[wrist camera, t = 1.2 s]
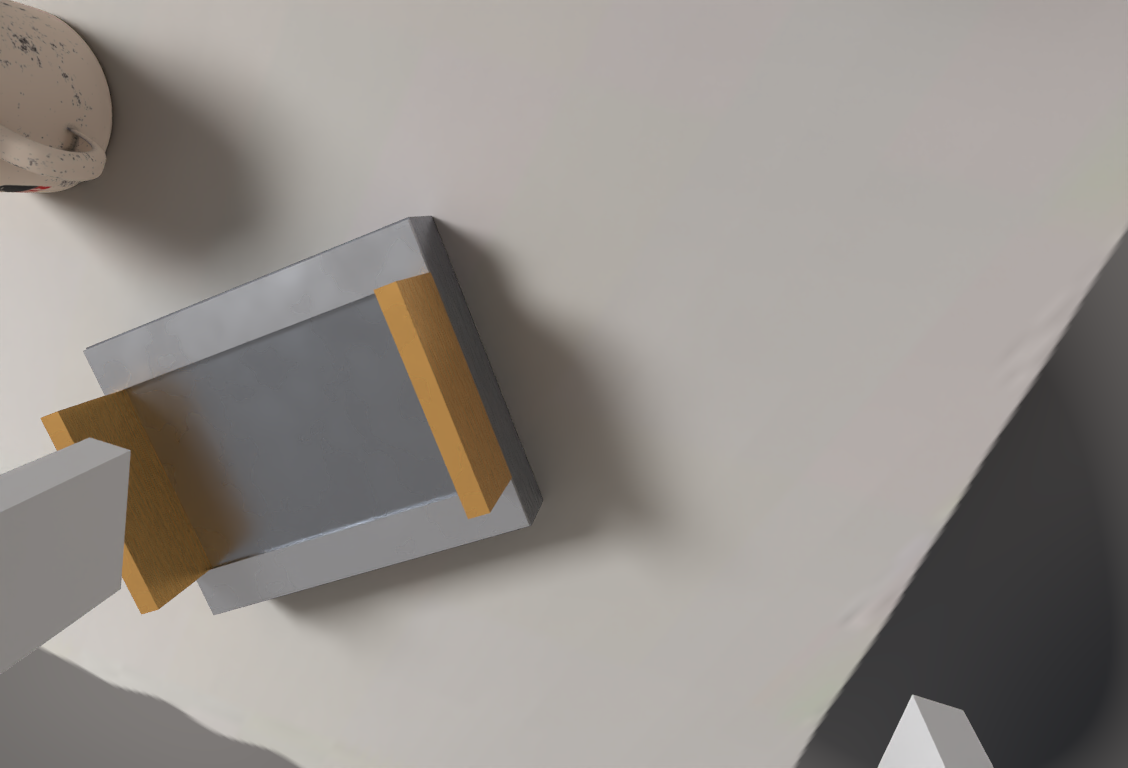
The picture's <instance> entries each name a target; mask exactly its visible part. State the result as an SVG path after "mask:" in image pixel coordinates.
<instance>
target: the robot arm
mask: <svg viewBox="0 0 1128 768" xmlns="http://www.w3.org/2000/svg"><path fill="white" fill-rule="evenodd" d="M130 454H131V450H128V449H125V448H122V447H119V446H116V445H112V444H109V443H106V442H103V441H100V440H96V439H93V438H90V437H89V438H87V439H85V440H82V441H80V442H77V443H75V444H73V445H70V446H68V447H65V448H63V449H61V450H58V451H56V452H54V453H51V454H49V455H46V456H44V457H42V458H39V459H37V460H35V461H32V462H30V463H27V464H25V465H23V466H20V467H18V468H16V469H13V470H11V471H8V472H6V473H4V474H1V475H0V674H2V673H3V672H5V671H6V670H7V669H9V668H10V667H12V666H13V665H15V664H16V663H17V662H19V661H20V660H22V659H23V658H24V657H26V656H27V655H28V654H30V653H31V652H33V651H34V650H35V649H37V648H38V647H40V646H41V645H43V644H44V643H45V642H47V641H48V640H50V639H51V638H52V637H54V636H55V635H57V634H58V633H59V632H61V631H62V630H64V629H65V628H66V627H68V626H69V625H71V624H72V623H74V622H75V621H76V620H78V619H79V618H81V617H82V616H83V615H85V614H86V613H88V612H89V611H90V610H92V609H93V608H95V607H96V606H97V605H99V604H100V603H102V602H103V601H104V600H106V599H107V598H109V597H110V596H111V595H113V594H114V593H116V592H117V591H118V590H120V589H121V579H122V565H123V551H124V537H125V523H126V509H127V495H128V482H129V468H130ZM878 768H993V766H992V764H991V762H990V760H989V758H988V756H987V754H986V753H985V751H984V749H983V747H982V745H981V743H980V741H979V739H978V738H977V736H976V734H975V733H974V730H973V728H972V726H971V725H970V723H969V721H968V719H967V717H966V715H965V713H964V711H963V710H960V709H957V708H954V707H950V706H947V705H944V704H941V703H938V702H934V701H931V700H928V699H925V698H921V697H918V696H915V695H912V697H911V699H910V701H909V703H908V705H907V707H906V710H905V711H904V714H903V716H902V718H901V720H900V722H899V724H898V726H897V728H896V730H895V732H894V734H893V737H892V739H891V741H890V743H889V745H888V747H887V749H886V751H885V753H884V755H883V758H882V760H881V762H880V764H879V766H878Z"/></svg>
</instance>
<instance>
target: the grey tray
mask: <svg viewBox="0 0 1128 768" xmlns="http://www.w3.org/2000/svg"><path fill="white" fill-rule="evenodd" d="M86 349H87V350H84V351H83V352H84V354H85V356H86V358H87V360H88V362H89V364H90V366H91V368H92V370H93V372H94V374H95V376H96V378H97V380H98V382H99V384H100V386H101V388H102V390H103V392H104V394H105V396H103V397H100V398H97V399H94V400H91V401H88V402H85V403H82V404H79V405H76V406H73V407H69V408H66V409H63V410H60V411H57V412H55V413H52V414H50V415H47V416H44V417H42V418H41V420H42V422H43V424H44V426H45V428H46V430H47V432H48V434H49V436H50V438H51V440H52V442H53V444H54V446H55V448H56V449H57V451H58V450H61V449H63V448H65V447H68V446H70V445H73V444H75V443H77V442H80V441H82V440H85V439H87V438H89V437H90V438H93V439H96V440H100V441H103V442H106V443H109V444H112V445H116V446H119V447H122V448H125V449H128V450H131V454H130V468H129V482H128V495H127V509H126V523H125V537H124V551H123V565H122V578H123V580H124V582H125V583H126V585H127V587H128V589H129V591H130V593H131V595H132V597H133V599H134V601H135V603H136V605H137V607H138V609H139V611H140V613H141V614H145V613H148V612H151V611H155V610H158V609H160V608H161V607H162V606H164V605H165V604H166V603H167V602H169V601H170V600H171V599H173V598H174V597H175V596H177V595H178V594H179V593H180V592H182V591H183V590H184V589H186V588H187V587H188V586H189V585H191V584H192V583H193V582H195V581H196V580H197V582H198V584H199V586H200V588H201V590H202V592H203V594H204V597H205V599H206V601H207V603H208V605H209V607H210V609H211V611H212V613H213V615H216V614H220V613H223V612H227V611H230V610H234V609H238V608H241V607H245V606H248V605H252V604H255V603H259V602H262V601H266V600H269V599H273V598H276V597H280V596H284V595H287V594H291V593H294V592H298V591H301V590H305V589H308V588H312V587H315V586H319V585H323V584H326V583H330V582H333V581H337V580H340V579H344V578H347V577H351V576H354V575H358V574H361V573H365V572H369V571H372V570H376V569H379V568H383V567H386V566H390V565H393V564H397V563H400V562H404V561H407V560H411V559H415V558H418V557H422V556H425V555H429V554H432V553H436V552H439V551H443V550H446V549H450V548H453V547H457V546H461V545H464V544H468V543H471V542H475V541H478V540H482V539H485V538H489V537H492V536H496V535H499V534H503V533H507V532H510V531H514V530H517V529H521V528H524V527H528V526H531V525H532V523H533V521H534V519H535V517H536V514H537V512H538V510H539V508H540V506H541V504H542V502H543V499H542V496H541V494H540V491H539V488H538V486H537V483H536V481H535V478H534V476H533V473H532V471H531V468H530V465H529V463H528V460H527V458H526V455H525V453H524V450H523V448H522V445H521V442H520V440H519V437H518V435H517V432H516V430H515V427H514V425H513V422H512V419H511V417H510V414H509V412H508V409H507V407H506V404H505V402H504V399H503V396H502V394H501V391H500V389H499V386H498V384H497V381H496V379H495V376H494V373H493V371H492V368H491V366H490V363H489V361H488V358H487V356H486V353H485V350H484V348H483V345H482V343H481V340H480V338H479V335H478V333H477V330H476V327H475V325H474V322H473V320H472V317H471V315H470V312H469V310H468V307H467V304H466V302H465V299H464V297H463V294H462V292H461V289H460V286H459V284H458V281H457V279H456V276H455V274H454V271H453V269H452V266H451V263H450V261H449V258H448V256H447V253H446V251H445V248H444V246H443V243H442V240H441V238H440V235H439V233H438V230H437V228H436V225H435V223H434V220H433V217H432V216H421V217H408V218H405V219H403V220H400V221H398V222H395V223H393V224H390V225H388V226H386V227H383V228H381V229H378V230H376V231H373V232H371V233H368V234H366V235H363V236H361V237H358V238H356V239H353V240H351V241H349V242H346V243H344V244H341V245H339V246H336V247H334V248H331V249H329V250H326V251H324V252H321V253H319V254H317V255H314V256H312V257H309V258H307V259H304V260H302V261H299V262H297V263H294V264H292V265H289V266H287V267H285V268H282V269H280V270H277V271H275V272H272V273H270V274H267V275H265V276H262V277H260V278H257V279H255V280H253V281H250V282H248V283H245V284H243V285H240V286H238V287H235V288H233V289H230V290H228V291H225V292H223V293H221V294H218V295H216V296H213V297H211V298H208V299H206V300H203V301H201V302H198V303H196V304H193V305H191V306H189V307H186V308H184V309H181V310H179V311H176V312H174V313H171V314H169V315H166V316H164V317H161V318H159V319H157V320H154V321H152V322H149V323H147V324H144V325H142V326H139V327H137V328H134V329H132V330H129V331H127V332H124V333H122V334H120V335H117V336H115V337H112V338H110V339H107V340H105V341H102V342H100V343H97V344H95V345H92V346H90V347H88V348H86Z"/></svg>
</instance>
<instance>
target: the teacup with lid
mask: <svg viewBox="0 0 1128 768" xmlns="http://www.w3.org/2000/svg"><path fill="white" fill-rule="evenodd" d="M111 129H112V103H111V97H110V92H109V88H108V84H107V81H106V78H105V75H104V73H103V70H102V68H101V66H100V64H99V62H98V60H97V58H96V57H95V55H94V53H93V52H92V50H91V49H90V47H89V46H88V45H87V44H86V42H85V41H84V40H83V39H82V38H81V37H80V36H79V34H78V33H76V32H75V31H74V30H73V29H72V28H71V27H70V26H69V25H67V24H66V23H65V22H63V21H62V20H60V19H59V18H57V17H55V16H53V15H51V14H49V13H47V12H45V11H43V10H40V9H37V8H34V7H31V6H27V5H24V4H21V3H17V2H14V1H11V0H0V192H33V193H49V192H57V191H62V190H66V189H69V188H71V187H73V186H75V185H77V184H79V183H80V182H82V181H89V180H93V179H95V178H97V177H99V176H100V175H101V174H102V172H103V170H104V166H105V163H106V155H105V152H106V149H107V146H108V143H109V139H110V135H111Z"/></svg>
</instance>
